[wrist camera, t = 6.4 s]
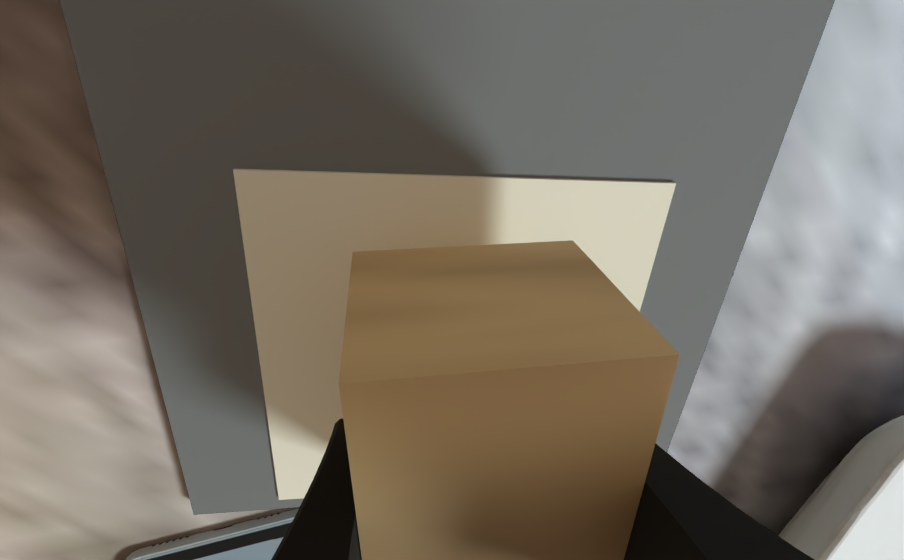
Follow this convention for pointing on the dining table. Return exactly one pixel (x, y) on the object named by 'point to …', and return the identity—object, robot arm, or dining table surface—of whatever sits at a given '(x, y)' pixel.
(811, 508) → the salad plate
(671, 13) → the mat
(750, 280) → the dining table surface
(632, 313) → the pine block
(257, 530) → the smartphone
